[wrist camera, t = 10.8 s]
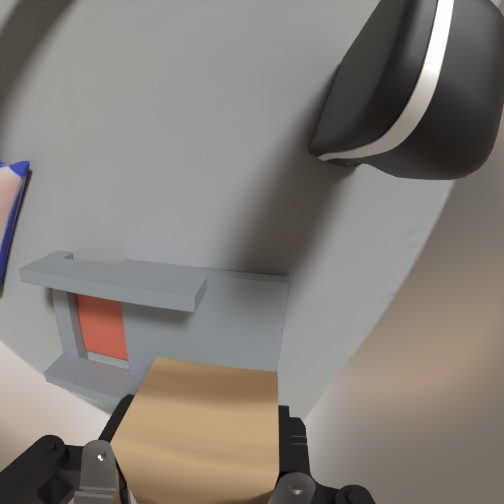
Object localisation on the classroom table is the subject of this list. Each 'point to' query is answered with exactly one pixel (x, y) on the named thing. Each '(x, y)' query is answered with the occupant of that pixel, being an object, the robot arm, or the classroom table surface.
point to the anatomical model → (9, 203)
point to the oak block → (201, 435)
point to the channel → (156, 319)
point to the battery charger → (418, 91)
